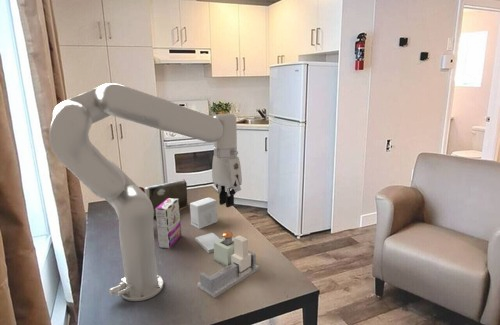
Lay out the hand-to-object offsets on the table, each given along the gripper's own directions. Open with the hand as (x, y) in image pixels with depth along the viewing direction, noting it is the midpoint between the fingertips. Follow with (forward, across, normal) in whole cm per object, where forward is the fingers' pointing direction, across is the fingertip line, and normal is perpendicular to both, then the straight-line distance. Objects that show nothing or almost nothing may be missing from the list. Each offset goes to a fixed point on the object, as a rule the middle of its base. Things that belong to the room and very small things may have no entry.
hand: (226, 204), depth 111 cm
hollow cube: (+21, 0, 0) cm, 21 cm away
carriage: (+20, -8, +1) cm, 21 cm away
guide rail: (+21, -8, +7) cm, 24 cm away
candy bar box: (+21, +27, +6) cm, 35 cm away
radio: (+21, +55, -11) cm, 60 cm away
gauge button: (+18, 0, 0) cm, 18 cm away
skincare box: (+21, +30, -14) cm, 39 cm away
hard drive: (+22, +14, -4) cm, 26 cm away
